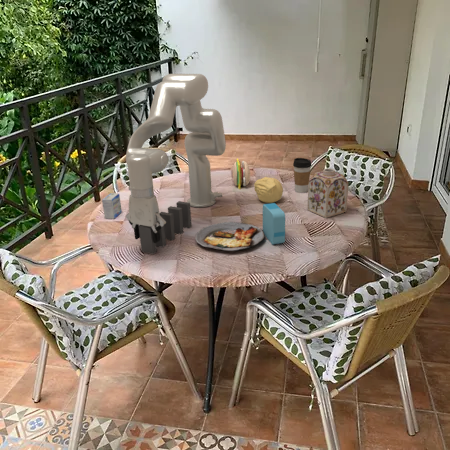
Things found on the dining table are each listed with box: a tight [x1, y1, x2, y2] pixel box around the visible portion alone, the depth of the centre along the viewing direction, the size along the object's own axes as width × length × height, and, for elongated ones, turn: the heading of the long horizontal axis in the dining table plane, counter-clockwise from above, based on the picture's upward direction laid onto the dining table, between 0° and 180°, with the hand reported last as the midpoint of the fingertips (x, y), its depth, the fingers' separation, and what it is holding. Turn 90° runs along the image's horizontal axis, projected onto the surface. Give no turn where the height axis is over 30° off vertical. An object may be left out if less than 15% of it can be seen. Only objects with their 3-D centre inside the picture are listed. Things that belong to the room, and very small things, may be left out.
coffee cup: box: [292, 157, 312, 194], centre depth 209 cm, size 8×8×15 cm
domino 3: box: [159, 211, 176, 241], centre depth 167 cm, size 2×5×10 cm, turn 63°
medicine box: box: [101, 192, 123, 220], centre depth 190 cm, size 8×4×9 cm, turn 168°
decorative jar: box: [307, 168, 349, 219], centre depth 185 cm, size 12×12×18 cm
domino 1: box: [139, 225, 157, 255], centre depth 157 cm, size 2×5×10 cm, turn 63°
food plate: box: [195, 221, 266, 252], centre depth 166 cm, size 25×23×4 cm
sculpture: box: [253, 176, 284, 204], centre depth 200 cm, size 11×12×11 cm
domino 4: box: [167, 206, 184, 235], centre depth 172 cm, size 2×5×10 cm, turn 63°
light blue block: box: [262, 202, 286, 245], centre depth 163 cm, size 12×4×12 cm, turn 14°
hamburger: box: [232, 158, 251, 190], centre depth 220 cm, size 12×8×12 cm
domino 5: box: [175, 200, 192, 229], centre depth 176 cm, size 2×5×10 cm, turn 63°
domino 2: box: [155, 222, 167, 248], centre depth 162 cm, size 2×5×10 cm, turn 63°
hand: (147, 239), depth 157 cm, fingers open, 7 cm apart
